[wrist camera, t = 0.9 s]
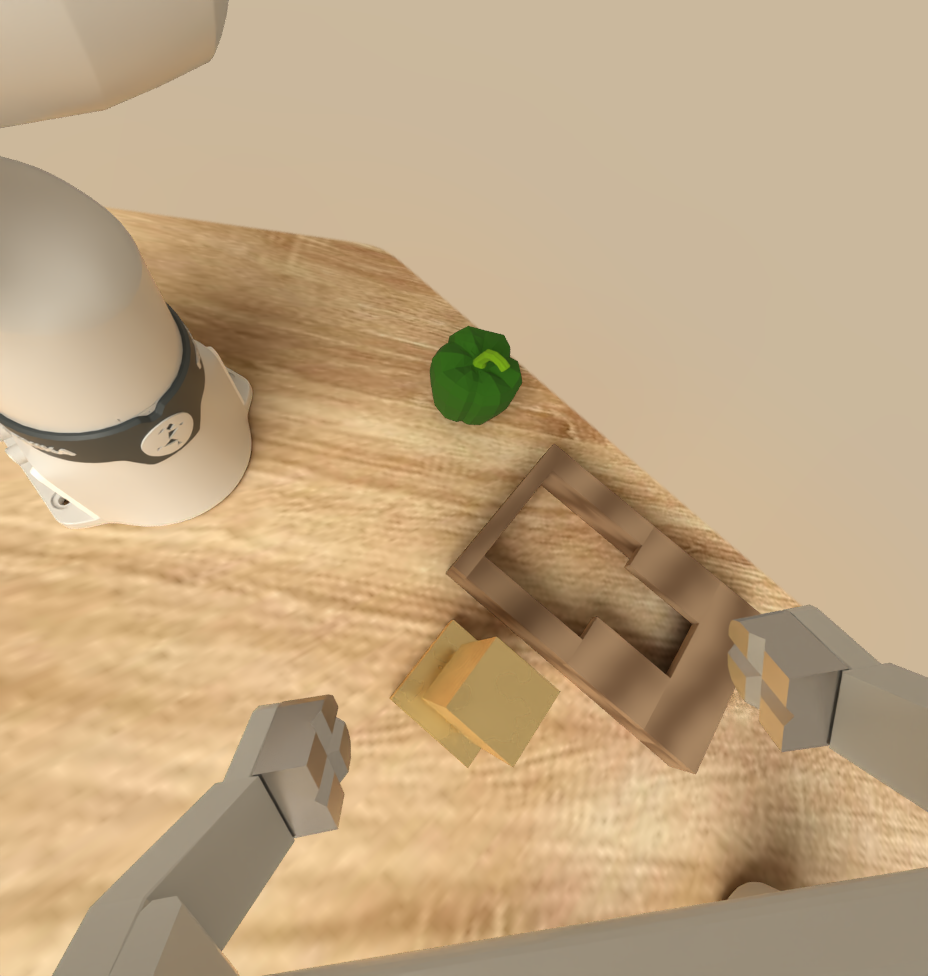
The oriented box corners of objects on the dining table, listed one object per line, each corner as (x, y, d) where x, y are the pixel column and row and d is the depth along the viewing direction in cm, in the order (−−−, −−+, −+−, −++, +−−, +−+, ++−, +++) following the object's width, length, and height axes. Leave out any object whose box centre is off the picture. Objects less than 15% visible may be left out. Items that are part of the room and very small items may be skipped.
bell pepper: (411, 378, 51) (425, 314, 41) (481, 362, 53) (509, 298, 44) (441, 448, 48) (462, 397, 39) (512, 427, 51) (547, 375, 42)
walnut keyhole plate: (445, 573, 44) (453, 565, 41) (541, 457, 51) (554, 443, 47) (669, 766, 43) (695, 774, 39) (739, 621, 49) (766, 618, 46)
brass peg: (389, 698, 40) (408, 712, 27) (450, 621, 43) (492, 601, 30) (463, 764, 39) (518, 811, 26) (519, 681, 42) (592, 687, 30)
